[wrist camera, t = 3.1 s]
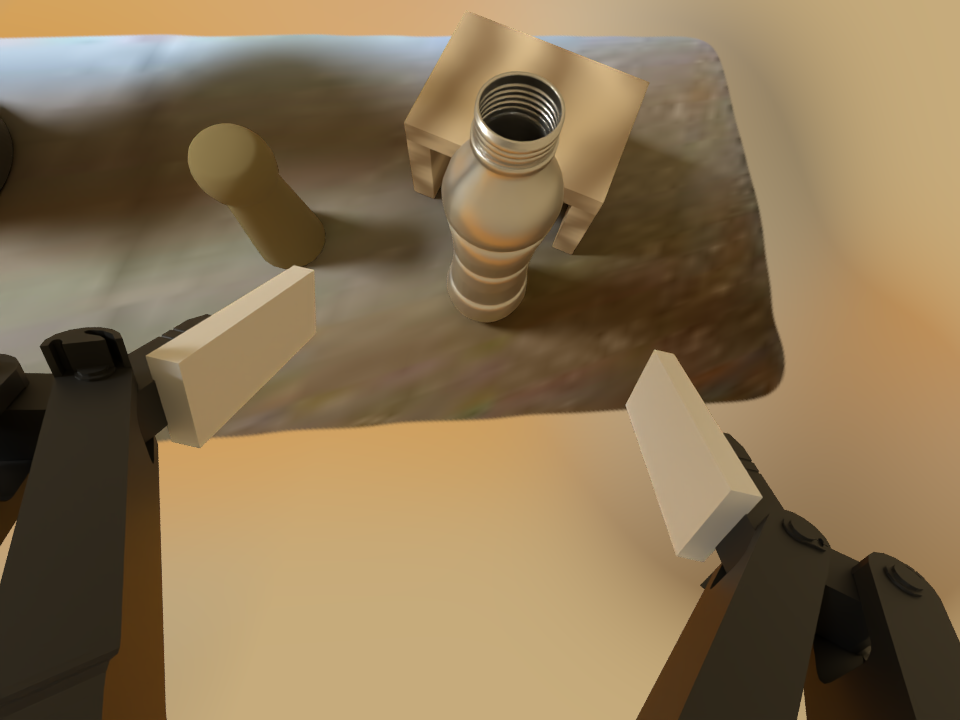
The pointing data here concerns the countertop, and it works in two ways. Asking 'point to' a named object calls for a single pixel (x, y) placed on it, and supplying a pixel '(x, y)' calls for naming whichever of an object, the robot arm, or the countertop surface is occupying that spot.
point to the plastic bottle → (503, 193)
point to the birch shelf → (583, 138)
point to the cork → (256, 194)
